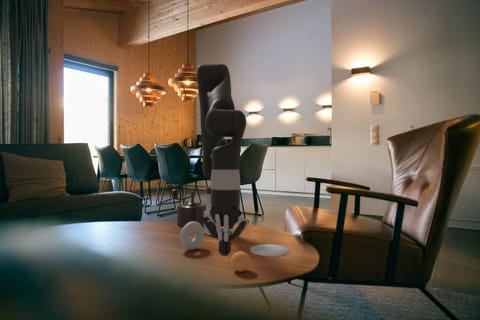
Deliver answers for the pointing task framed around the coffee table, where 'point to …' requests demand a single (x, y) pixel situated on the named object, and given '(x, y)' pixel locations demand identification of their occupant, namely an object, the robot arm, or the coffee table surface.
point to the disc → (270, 250)
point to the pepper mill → (188, 210)
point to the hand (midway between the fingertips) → (225, 255)
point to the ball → (240, 261)
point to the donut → (197, 238)
